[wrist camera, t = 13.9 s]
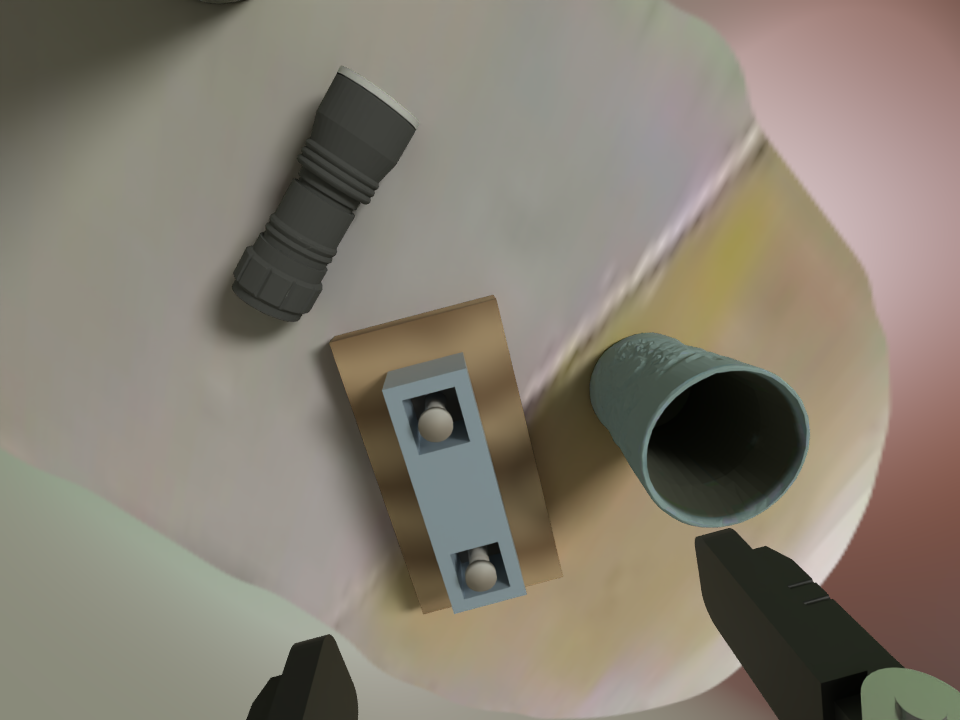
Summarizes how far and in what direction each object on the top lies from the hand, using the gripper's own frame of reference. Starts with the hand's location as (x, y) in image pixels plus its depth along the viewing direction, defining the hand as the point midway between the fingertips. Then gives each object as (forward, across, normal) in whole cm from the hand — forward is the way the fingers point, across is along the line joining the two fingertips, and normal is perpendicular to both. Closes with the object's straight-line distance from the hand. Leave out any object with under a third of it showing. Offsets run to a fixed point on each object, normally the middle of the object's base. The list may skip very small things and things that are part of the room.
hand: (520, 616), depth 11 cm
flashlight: (+28, +6, -11) cm, 31 cm away
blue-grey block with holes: (+26, +3, +10) cm, 28 cm away
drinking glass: (+28, -13, +8) cm, 32 cm away
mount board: (+28, +3, +10) cm, 30 cm away
